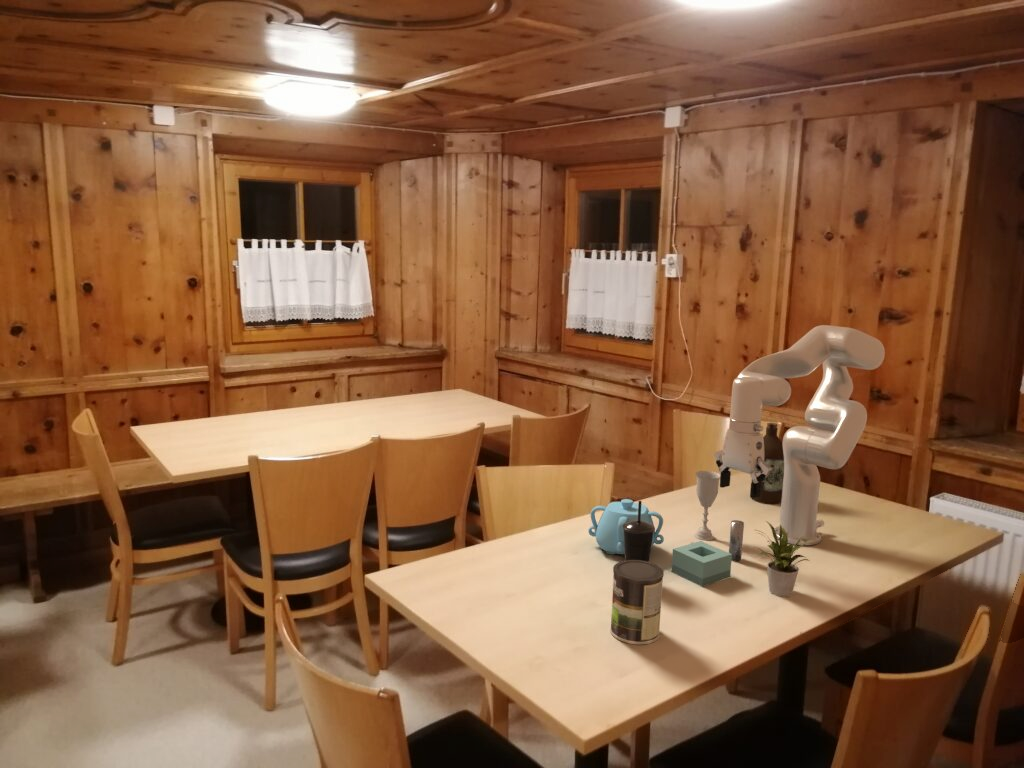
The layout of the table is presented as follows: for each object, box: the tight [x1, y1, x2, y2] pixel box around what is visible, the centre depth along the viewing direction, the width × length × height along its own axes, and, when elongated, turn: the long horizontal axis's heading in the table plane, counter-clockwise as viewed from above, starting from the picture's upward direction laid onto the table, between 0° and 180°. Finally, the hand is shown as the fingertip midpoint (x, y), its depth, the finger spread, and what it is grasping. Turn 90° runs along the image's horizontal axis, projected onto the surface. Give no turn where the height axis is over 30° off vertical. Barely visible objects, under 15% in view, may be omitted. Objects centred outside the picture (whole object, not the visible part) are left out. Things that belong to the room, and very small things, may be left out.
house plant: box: [754, 520, 815, 597], centre depth 184 cm, size 14×14×16 cm
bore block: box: [671, 540, 732, 587], centre depth 193 cm, size 10×10×6 cm
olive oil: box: [751, 422, 784, 505], centre depth 249 cm, size 11×11×25 cm
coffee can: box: [610, 559, 665, 646], centre depth 163 cm, size 10×10×14 cm
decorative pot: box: [588, 498, 665, 556], centre depth 207 cm, size 16×16×14 cm
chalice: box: [694, 470, 721, 541], centre depth 217 cm, size 7×7×18 cm
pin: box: [728, 519, 745, 562], centre depth 203 cm, size 3×3×10 cm
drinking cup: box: [623, 500, 656, 562], centre depth 188 cm, size 8×8×20 cm
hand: (739, 491), depth 200 cm, fingers open, 9 cm apart
